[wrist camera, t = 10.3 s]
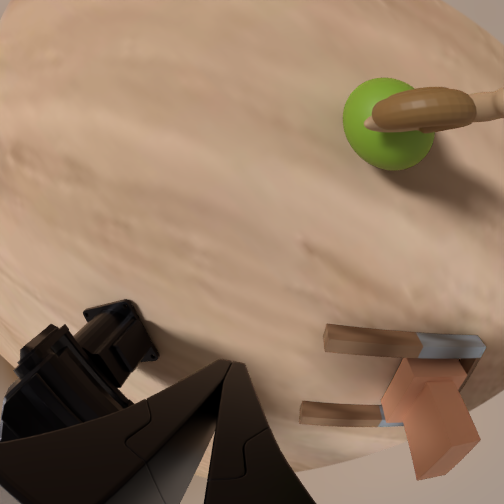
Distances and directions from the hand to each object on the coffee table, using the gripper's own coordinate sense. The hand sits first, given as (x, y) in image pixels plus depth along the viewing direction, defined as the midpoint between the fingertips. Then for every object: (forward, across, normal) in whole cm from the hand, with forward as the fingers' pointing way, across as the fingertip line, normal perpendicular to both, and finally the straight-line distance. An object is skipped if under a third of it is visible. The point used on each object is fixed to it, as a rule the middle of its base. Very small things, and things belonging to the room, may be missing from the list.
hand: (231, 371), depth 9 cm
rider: (+12, +16, -10) cm, 23 cm away
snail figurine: (+12, +7, +10) cm, 17 cm away
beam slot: (+12, +13, -10) cm, 21 cm away
